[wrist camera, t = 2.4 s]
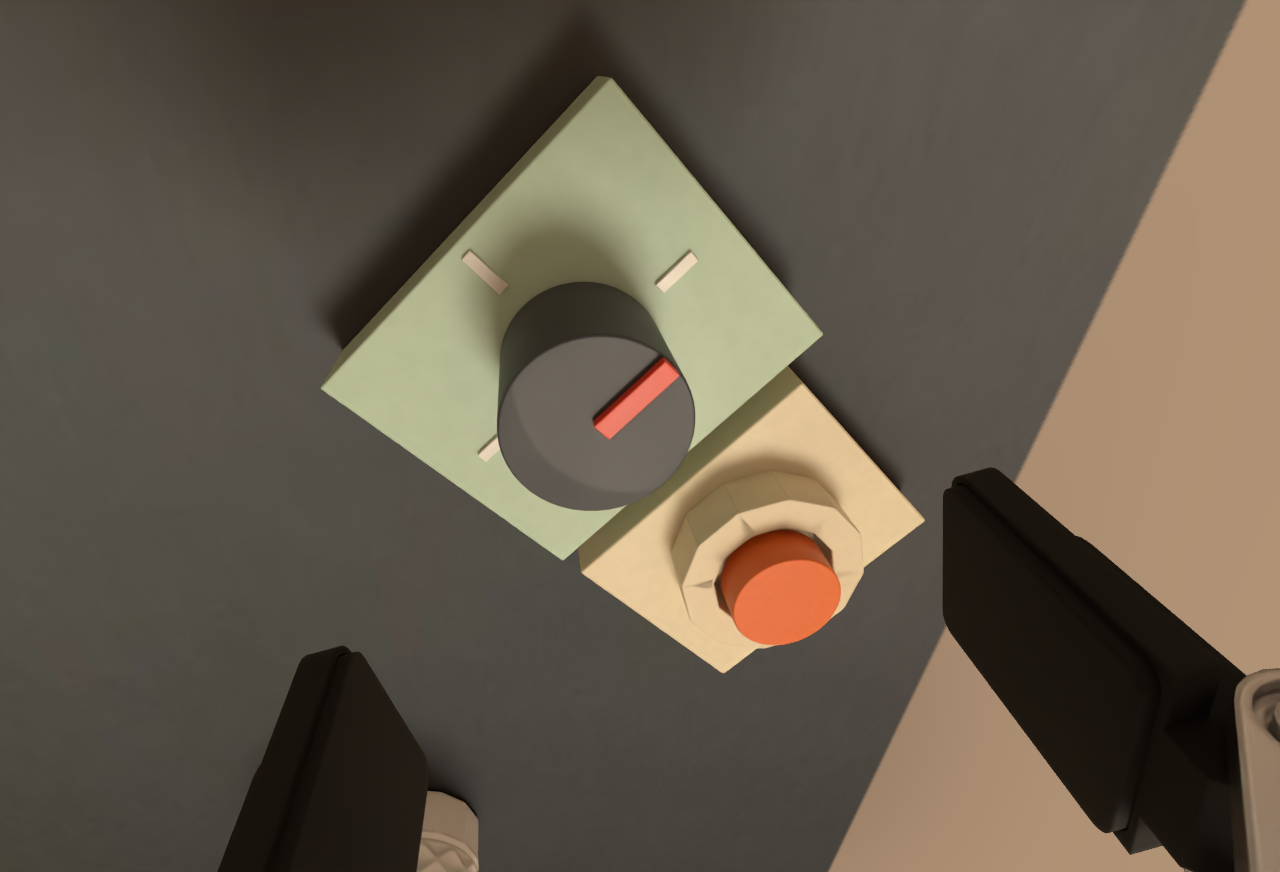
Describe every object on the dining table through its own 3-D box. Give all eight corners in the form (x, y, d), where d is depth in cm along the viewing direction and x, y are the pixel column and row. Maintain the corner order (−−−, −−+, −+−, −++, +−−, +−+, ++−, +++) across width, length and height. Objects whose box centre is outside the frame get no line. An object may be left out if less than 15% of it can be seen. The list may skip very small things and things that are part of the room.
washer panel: (558, 514, 27) (563, 564, 24) (341, 351, 23) (317, 390, 20) (791, 305, 24) (826, 336, 22) (598, 74, 20) (611, 76, 17)
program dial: (582, 460, 23) (598, 550, 18) (464, 363, 20) (452, 441, 16) (694, 358, 21) (738, 429, 17) (583, 244, 19) (602, 294, 15)
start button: (762, 628, 27) (776, 661, 25) (698, 577, 25) (710, 610, 24) (841, 566, 26) (862, 598, 25) (782, 510, 24) (800, 540, 23)
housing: (711, 641, 32) (736, 712, 28) (576, 541, 28) (584, 609, 24) (902, 494, 30) (953, 551, 26) (783, 360, 25) (825, 407, 22)
